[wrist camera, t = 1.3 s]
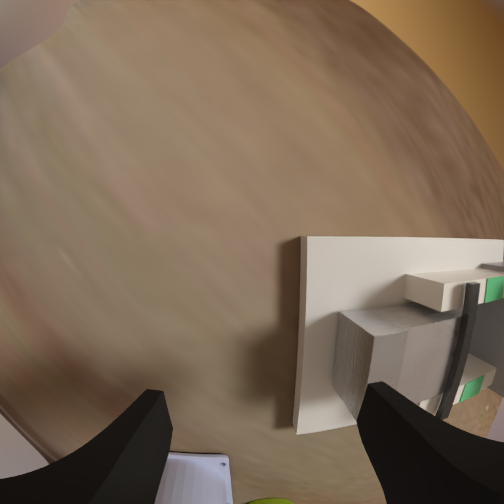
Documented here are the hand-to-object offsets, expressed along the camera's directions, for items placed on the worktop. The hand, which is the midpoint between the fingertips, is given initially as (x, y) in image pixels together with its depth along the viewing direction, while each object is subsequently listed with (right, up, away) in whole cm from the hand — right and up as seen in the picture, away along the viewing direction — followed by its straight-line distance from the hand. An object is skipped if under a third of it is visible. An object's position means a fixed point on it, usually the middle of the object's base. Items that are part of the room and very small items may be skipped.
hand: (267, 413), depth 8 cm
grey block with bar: (+9, -1, +8) cm, 12 cm away
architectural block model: (+12, 0, +10) cm, 16 cm away
